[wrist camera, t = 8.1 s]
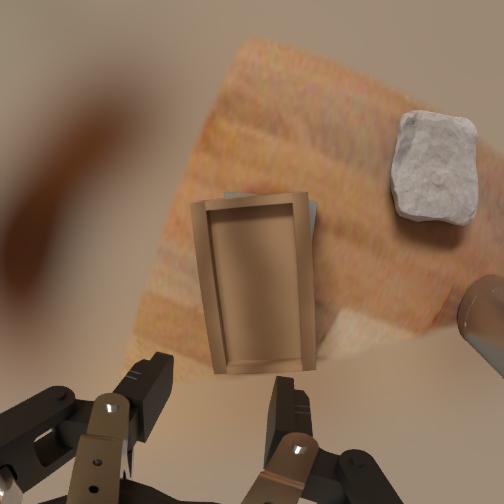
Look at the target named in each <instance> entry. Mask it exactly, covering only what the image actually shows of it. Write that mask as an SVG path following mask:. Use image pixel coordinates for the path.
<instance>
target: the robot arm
mask: <svg viewBox="0 0 504 504" xmlns="http://www.w3.org/2000/svg"><path fill="white" fill-rule="evenodd" d="M457 322H458V329H459V332H460V334H461V335H462V337H463V338H464V339H465V340H466V341H467V342H468V343H469V344H470V345H471V346H472V347H473V348H474V349H475V350H476V351H477V352H478V353H479V354H480V355H481V356H482V357H483V358H484V359H485V360H486V361H487V362H488V363H489V364H490V365H491V366H492V367H493V368H494V369H495V370H496V371H497V372H498V373H499V374H500V375H501V376H502V377H503V378H504V279H503V278H501V277H499V276H495V275H491V276H486V277H483V278H481V279H480V280H478V281H477V282H476V283H475V284H473V285H472V286H471V288H470V289H469V290H468V291H467V293H466V295H465V296H464V298H463V300H462V302H461V305H460V308H459V312H458V321H457ZM173 364H174V357H173V355H169V354H165V353H161V352H156V353H155V354H154V356H153V357H152V358H151V360H150V361H149V360H145V359H143V360H141V361H139V362H137V363H135V364H134V365H133V367H132V368H131V369H130V371H129V372H128V373H127V374H126V377H124V378H123V380H122V381H121V382H120V383H119V385H118V386H117V387H116V389H115V390H114V391H113V393H105V394H102V395H100V396H98V397H97V398H96V399H95V401H86V400H78V399H75V394H74V392H73V391H72V390H71V389H69V388H67V387H64V386H52V387H49V388H47V389H46V390H44V391H42V392H40V393H38V394H36V395H34V396H33V397H31V398H29V399H27V400H25V401H23V402H21V403H20V404H18V405H16V406H14V407H12V408H10V409H9V410H7V411H5V412H3V413H1V414H0V504H21V502H22V499H23V493H25V492H26V491H28V490H29V489H31V488H32V487H33V486H35V485H36V484H38V483H39V482H40V481H42V480H43V479H45V478H46V477H47V476H49V475H50V474H51V473H53V472H54V471H56V470H57V469H59V468H60V467H61V466H63V465H64V464H65V463H66V462H68V461H69V460H71V459H72V458H73V457H75V461H74V466H73V470H72V475H71V480H70V486H69V491H68V495H65V496H62V497H59V498H56V499H52V500H49V501H46V502H42V503H39V504H219V503H214V502H188V501H187V502H186V501H179V500H176V499H174V498H172V497H170V496H168V495H166V494H164V493H162V492H160V491H158V490H156V489H154V488H153V487H150V486H147V485H143V484H140V483H137V482H134V481H133V460H134V445H135V443H136V441H141V442H144V443H145V442H146V441H147V439H148V437H149V435H150V433H151V431H152V429H153V427H154V425H155V423H156V421H157V419H158V417H159V415H160V413H161V412H162V410H163V408H164V406H165V404H166V402H167V400H168V398H169V396H170V394H171V390H172V384H173ZM49 429H52V431H51V432H50V433H49V434H47V435H45V436H44V437H42V438H41V439H39V440H37V441H36V442H34V441H35V439H36V438H37V437H38V436H40V435H41V434H43V433H45V432H46V431H48V430H49ZM263 469H265V470H264V471H263V472H260V474H259V475H258V477H257V479H256V480H255V482H254V483H253V485H252V487H251V488H250V490H249V491H248V493H247V495H246V496H245V498H244V499H243V501H242V502H241V504H297V503H298V501H299V498H300V497H301V498H304V499H307V500H310V501H314V502H317V504H403V502H402V501H401V499H400V498H399V496H398V495H397V493H396V492H395V490H394V489H393V487H392V486H391V484H390V483H389V481H388V480H387V478H386V477H385V475H384V473H383V472H382V470H381V469H380V468H379V466H378V464H377V463H376V462H375V460H374V458H373V457H372V456H371V455H370V454H368V453H366V452H365V451H362V450H356V449H352V450H347V451H345V452H343V453H342V454H341V455H336V454H333V453H329V452H327V451H324V450H323V449H321V448H320V447H319V445H318V443H317V441H316V440H315V439H314V438H313V433H312V422H311V414H310V402H309V398H308V396H307V395H306V393H305V392H304V391H302V390H295V389H294V379H293V378H289V377H282V376H277V377H276V380H275V384H274V388H273V392H272V397H271V401H270V405H269V411H268V420H267V433H266V444H265V457H264V468H263Z"/></svg>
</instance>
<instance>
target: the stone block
mask: <svg viewBox="0 0 504 504" xmlns="http://www.w3.org/2000/svg"><path fill="white" fill-rule="evenodd" d="M476 143H477V130H476V128H475V127H474V125H473V123H472V122H471V121H469V120H468V119H466V118H464V117H462V118H460V117H452V116H448V115H443V114H439V113H433V112H428V111H423V110H415V111H411V112H409V113H404V114H403V116H402V118H401V120H400V122H399V130H398V137H397V143H396V146H395V155H394V158H393V162H392V169H391V185H390V188H391V191H392V195H393V198H394V204H395V209H396V212H397V214H398V215H399V216H401V217H403V218H407V219H411V220H413V221H417V222H421V221H431V220H432V221H433V220H440V221H445V222H448V223H451V224H454V225H460V226H465V225H467V224H468V223H469V222H470V221H471V220H473V219H474V217H475V215H476V210H477V205H478V178H477V172H476V163H475V157H476V150H475V148H476Z"/></svg>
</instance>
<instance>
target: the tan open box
mask: <svg viewBox="0 0 504 504" xmlns="http://www.w3.org/2000/svg"><path fill="white" fill-rule="evenodd" d="M190 208H191V217H192V226H193V234H194V243H195V251H196V258H197V266H198V273H199V281H200V288H201V295H202V302H203V308H204V315H205V321H206V328H207V334H208V340H209V346H210V352H211V358H212V364H213V370H214V374H254V373H278V372H294V371H308V370H316V333H315V301H314V278H313V259H312V242H311V227H310V213H309V200H308V192H305V191H299V192H286V193H274V194H262V195H251V196H241V197H230V198H221V199H211V200H204V201H199V202H194V203H190Z"/></svg>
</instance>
